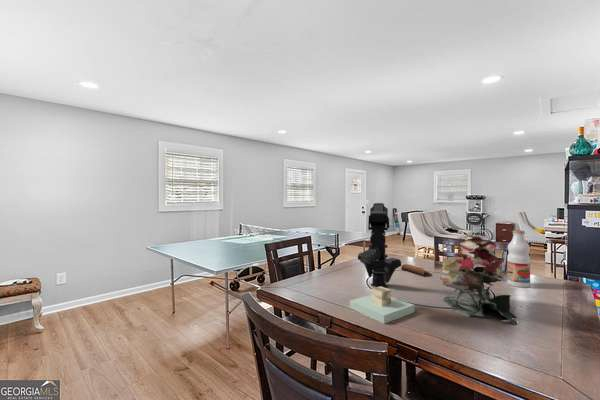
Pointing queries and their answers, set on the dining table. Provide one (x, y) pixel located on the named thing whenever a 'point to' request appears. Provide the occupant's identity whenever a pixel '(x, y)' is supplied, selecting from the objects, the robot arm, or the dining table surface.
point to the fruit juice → (518, 261)
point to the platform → (382, 309)
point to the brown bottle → (415, 270)
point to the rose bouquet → (476, 279)
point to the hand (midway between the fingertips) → (378, 279)
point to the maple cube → (381, 296)
